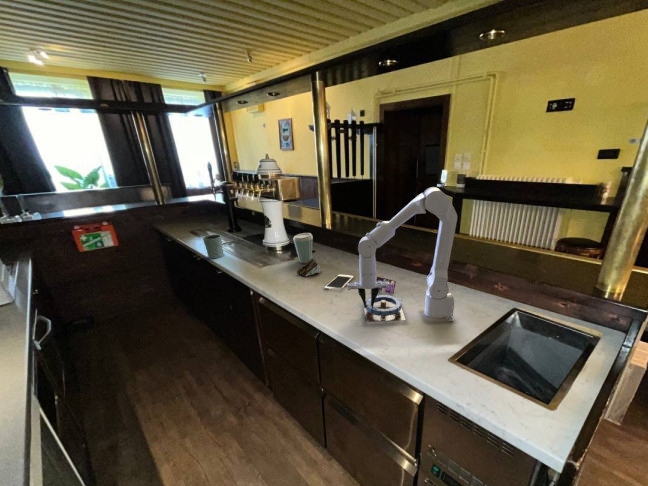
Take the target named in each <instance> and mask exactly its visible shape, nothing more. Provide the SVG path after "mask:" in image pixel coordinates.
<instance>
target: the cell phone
mask: <svg viewBox="0 0 648 486" xmlns="http://www.w3.org/2000/svg"><path fill="white" fill-rule="evenodd" d="M354 277H355V276H354V275H349V274H340V273H339V274H338V275H337V276H336V277H334V278H333V279H332V280H330V282H329V283H327V284H326V285H325V286H324V289H325V290H330V289H342V288H343V289H344V288H345V287H347V285H348V283H350V282H351V281H352V280H353V279H354Z"/></svg>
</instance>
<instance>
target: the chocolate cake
mask: <svg viewBox="0 0 648 486" xmlns="http://www.w3.org/2000/svg"><path fill="white" fill-rule="evenodd" d="M295 272H296V274H297V275H301V276H303V277H304V278H305V277H309V276H314V275H315V274H320V273H321V272H322V269H321V266H320V264H318V262H317V260H316V258H315V256H312V259H310V260H309V261H308V262H307V263H303V264H302V265H301V266H300V267H299V268H297V270H296V271H295Z"/></svg>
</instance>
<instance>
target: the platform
mask: <svg viewBox="0 0 648 486" xmlns="http://www.w3.org/2000/svg"><path fill="white" fill-rule="evenodd" d="M394 306H395V304H393V303H392V302H387V301H386V300H381V301H379V302H376V303H374V305H373V307H375V308H379V309H389V308H392V307H394ZM363 311H364V313H363V314H364V322H365V323H371V322H392V321H393V322H394V321H398V322H399V321H406V317H405V314H404V311H403V307H402V306H401V310H400V311H399V312H397V313H396V314H393V315H389V316H381V315H380V316H378V315H374V314H371V313H370V312H368V311H367V310H366V308H364V307H363Z"/></svg>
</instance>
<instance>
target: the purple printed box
mask: <svg viewBox="0 0 648 486" xmlns="http://www.w3.org/2000/svg"><path fill="white" fill-rule="evenodd" d="M376 281H388V282H389V289H386V288H384V290H385V291H387V292H389V295H390V294H392V295H394V293H395V287H396V283H397V280H396V281H395V280H392V279H389V278H385V277H381V276H376ZM378 290H379V291H383V288H378Z"/></svg>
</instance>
